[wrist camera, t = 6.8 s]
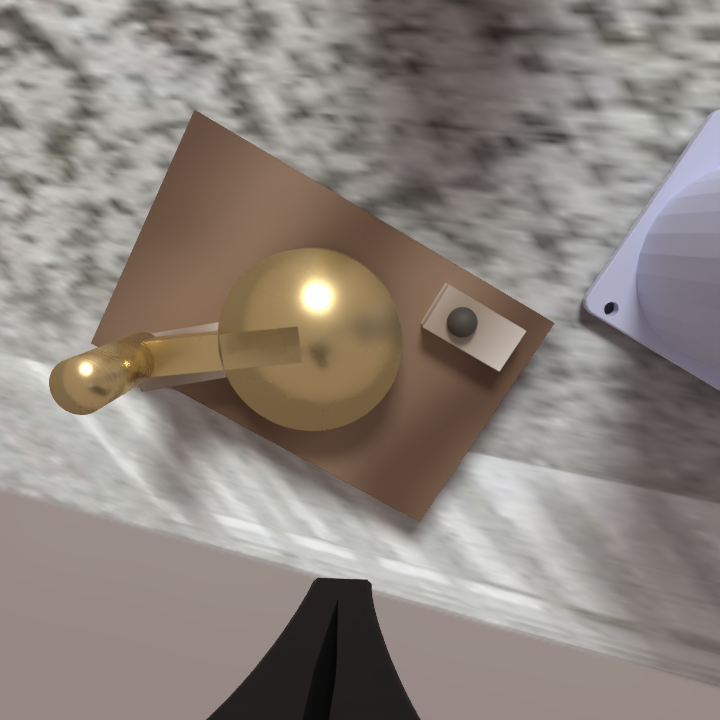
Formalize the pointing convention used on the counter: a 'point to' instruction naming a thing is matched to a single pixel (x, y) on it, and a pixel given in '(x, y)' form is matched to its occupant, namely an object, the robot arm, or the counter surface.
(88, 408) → the gold door handle
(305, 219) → the stand
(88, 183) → the counter surface
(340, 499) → the counter surface
